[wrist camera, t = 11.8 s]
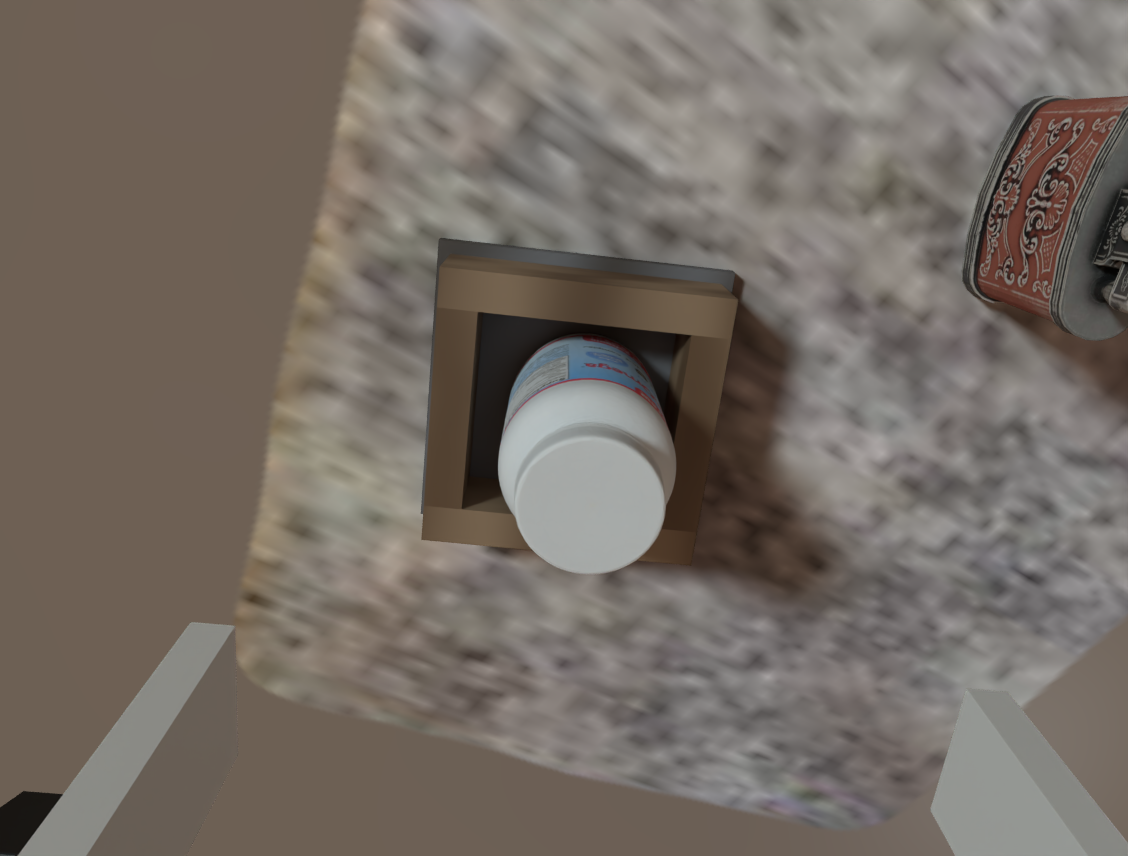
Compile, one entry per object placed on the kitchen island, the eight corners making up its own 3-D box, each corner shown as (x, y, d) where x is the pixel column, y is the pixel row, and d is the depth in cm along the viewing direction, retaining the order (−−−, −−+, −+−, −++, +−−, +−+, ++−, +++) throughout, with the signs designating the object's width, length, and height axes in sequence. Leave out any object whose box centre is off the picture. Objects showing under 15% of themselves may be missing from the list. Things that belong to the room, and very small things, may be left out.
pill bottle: (681, 407, 37) (732, 520, 26) (571, 492, 38) (577, 632, 28) (591, 299, 36) (607, 372, 25) (479, 391, 37) (449, 498, 26)
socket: (732, 270, 36) (753, 287, 32) (686, 533, 40) (701, 577, 36) (440, 238, 35) (426, 251, 31) (422, 507, 39) (408, 549, 35)
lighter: (1021, 307, 37) (1184, 369, 27) (944, 291, 36) (1082, 348, 27) (1096, 106, 34) (1305, 97, 25) (1014, 87, 34) (1194, 71, 24)
